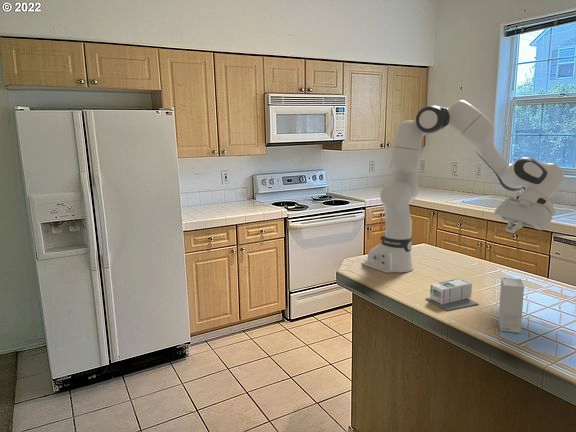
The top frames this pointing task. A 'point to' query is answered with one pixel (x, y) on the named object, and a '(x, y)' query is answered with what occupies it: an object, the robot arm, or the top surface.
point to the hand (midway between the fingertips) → (509, 231)
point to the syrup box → (451, 291)
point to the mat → (454, 304)
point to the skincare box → (511, 305)
